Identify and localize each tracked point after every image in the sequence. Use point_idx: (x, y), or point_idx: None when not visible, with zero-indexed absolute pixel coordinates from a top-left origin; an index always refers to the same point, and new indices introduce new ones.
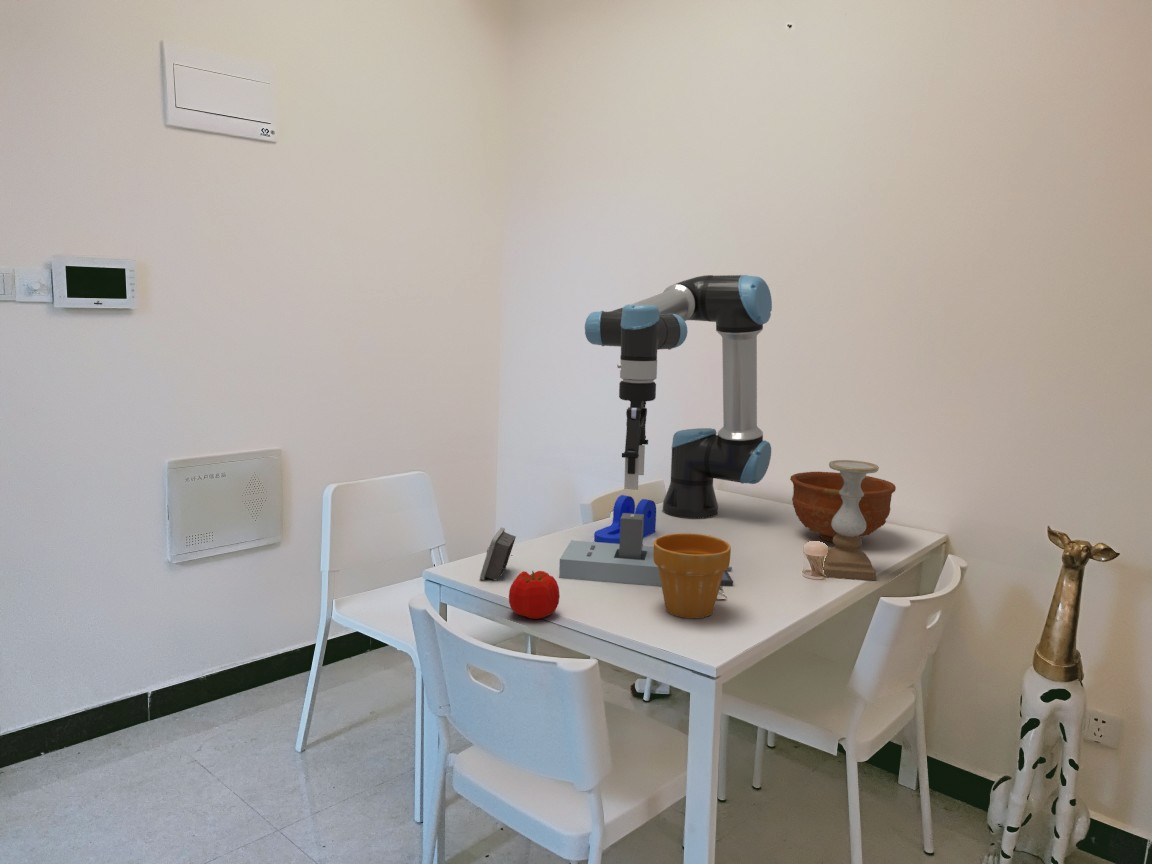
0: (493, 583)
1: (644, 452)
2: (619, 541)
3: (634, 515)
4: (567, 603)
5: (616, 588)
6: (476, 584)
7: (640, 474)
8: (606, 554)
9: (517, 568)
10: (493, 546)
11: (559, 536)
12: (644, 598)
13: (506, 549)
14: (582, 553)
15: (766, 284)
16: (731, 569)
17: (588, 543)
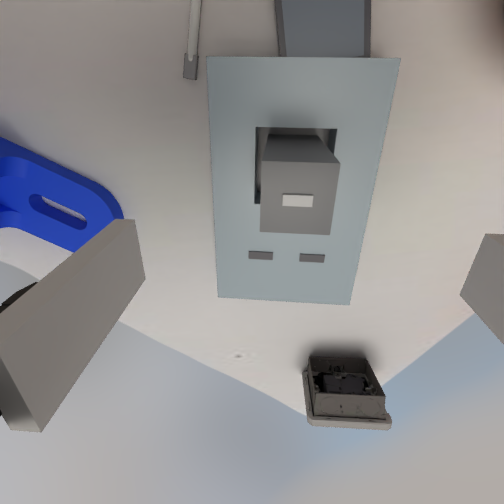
0: (378, 362)
1: (31, 298)
2: (108, 199)
3: (283, 193)
4: None
5: (398, 179)
6: (384, 378)
7: (135, 236)
8: None
9: (302, 343)
10: (388, 415)
11: None
12: (466, 113)
13: (383, 394)
14: (305, 270)
15: None
16: None
17: (230, 265)
